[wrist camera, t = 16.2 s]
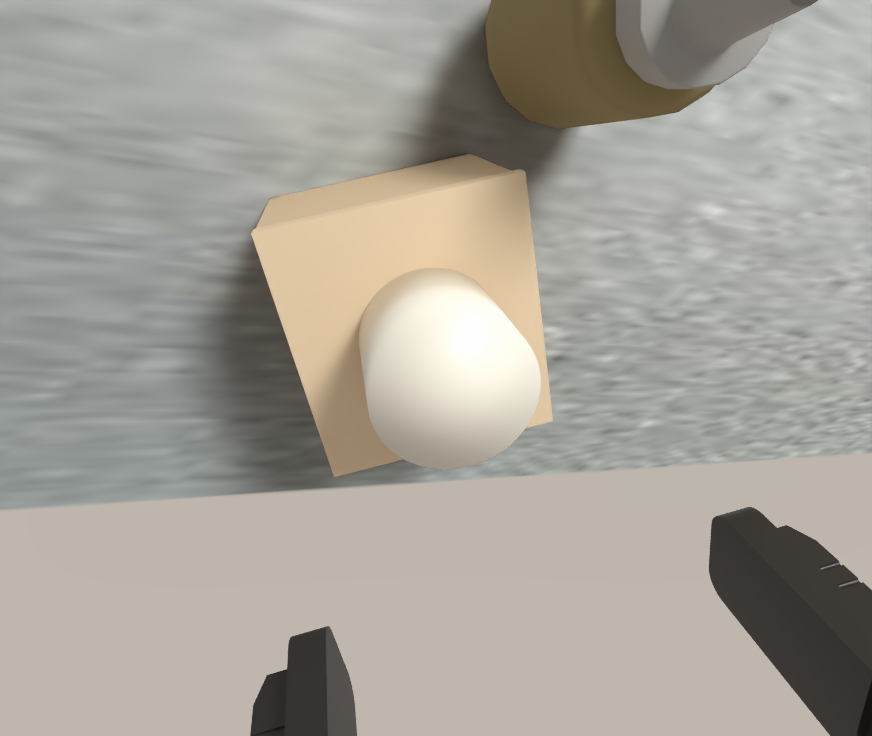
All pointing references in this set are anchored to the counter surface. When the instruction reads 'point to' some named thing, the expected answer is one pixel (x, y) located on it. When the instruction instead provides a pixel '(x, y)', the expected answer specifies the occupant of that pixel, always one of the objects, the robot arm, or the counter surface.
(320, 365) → the lid
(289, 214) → the cardboard box
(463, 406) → the rounded white cylinder
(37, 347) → the counter surface
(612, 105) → the squeeze bottle
